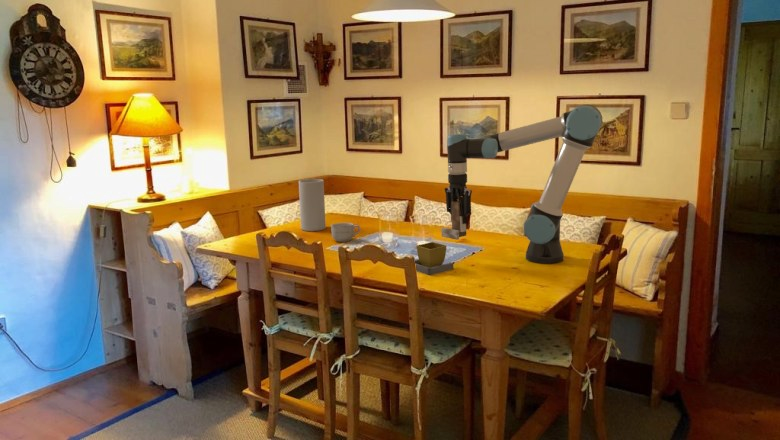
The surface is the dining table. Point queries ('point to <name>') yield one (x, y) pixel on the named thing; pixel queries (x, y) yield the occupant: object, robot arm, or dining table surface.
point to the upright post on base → (454, 223)
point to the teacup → (344, 231)
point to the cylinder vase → (312, 204)
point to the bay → (433, 268)
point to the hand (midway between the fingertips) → (459, 230)
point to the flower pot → (431, 254)
